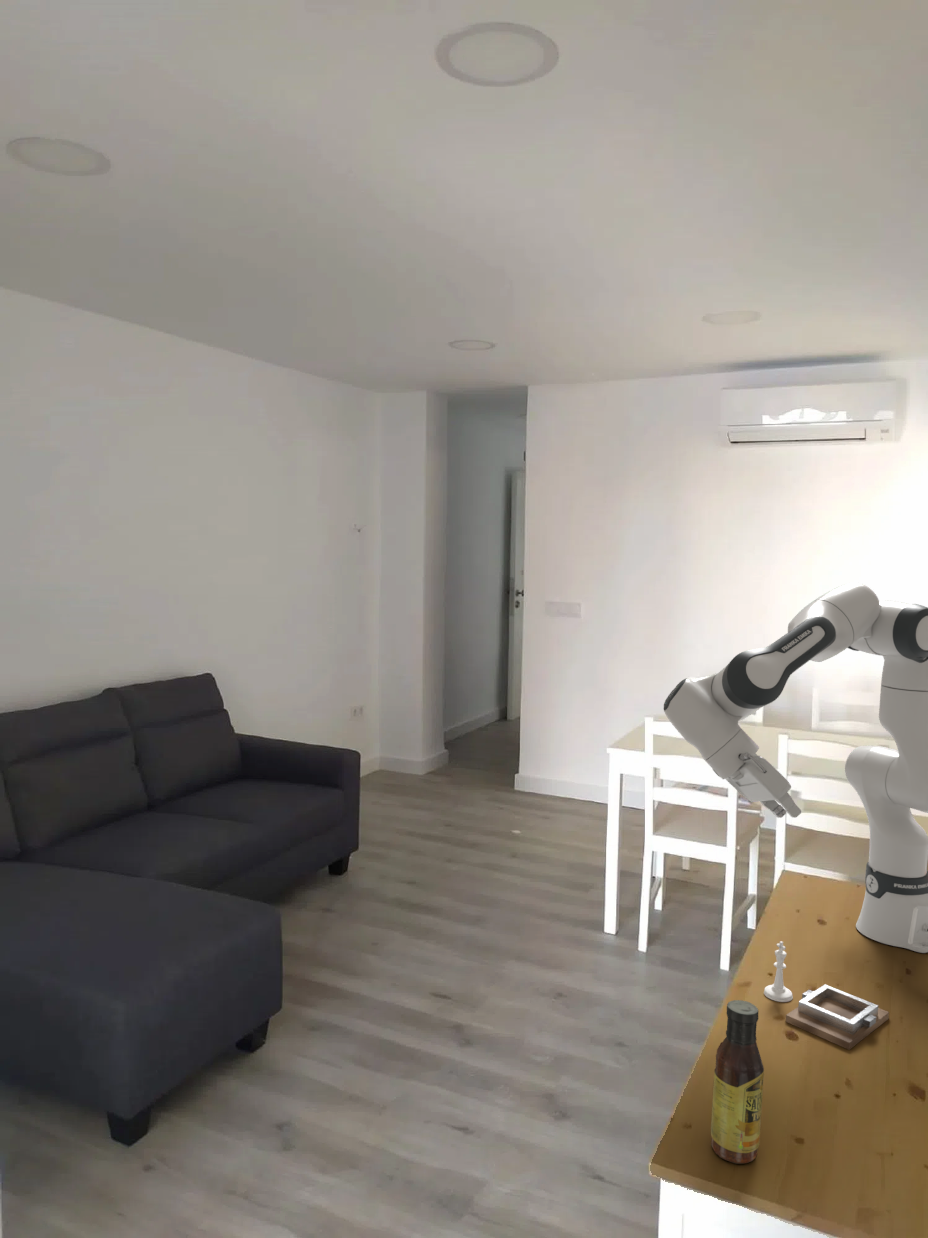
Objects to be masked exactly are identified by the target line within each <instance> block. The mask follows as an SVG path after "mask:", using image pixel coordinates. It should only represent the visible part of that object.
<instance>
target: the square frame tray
mask: <svg viewBox="0 0 928 1238" xmlns="http://www.w3.org/2000/svg"><path fill="white" fill-rule="evenodd" d="M801 995H802V997H801V999H800V1000H799V1001H798V1006H797V1007H798V1012H801V1013H803V1014H805V1015H808V1016H810V1017H812V1018H815V1019H817V1020H819V1021H822V1022H824V1023H826V1024H829V1025H831V1026H833V1027H836V1028H838V1029H840V1030H843V1031H845V1032H847V1033H849V1034H852V1035H853V1034H855V1033H856V1032H857V1031H858V1030H860V1029H861V1028H862V1027H864V1026H867V1027H869V1028H870V1027H871V1026H872V1025H873V1024H875V1023H876V1017H877V1016H878V1008H879V1004H875V1003H873V1002H870V1001H868V1000H865V999H863V998H860V997H858V996H855V995H852V994H850V993H848V992H845V991H843V990H840V989H838V988H835V987H832V986H830V985H828V984H827V983H825V984H823V985H821V986H820V987H818V988H817V989H815V990H812V989H808V990H806V991H804V992H803V993H802V994H801ZM826 998H829V999H831V1000H833V1001H836V1002H838V1003H841V1004H843V1005H846V1006H848V1007H851V1008H853V1009H855V1010H858V1011H860V1013H859V1014H857V1015H856V1016H855V1017H853V1018H852V1019H851V1020H849V1019H847V1018H845V1017H842V1016H840V1015H837V1014H835V1013H833V1012H830V1011H828V1010H825V1009H823V1008H821V1007H818V1006H816V1005H817V1004H819V1003H820V1002H822V1001H823V1000H825V999H826Z"/></svg>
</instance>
